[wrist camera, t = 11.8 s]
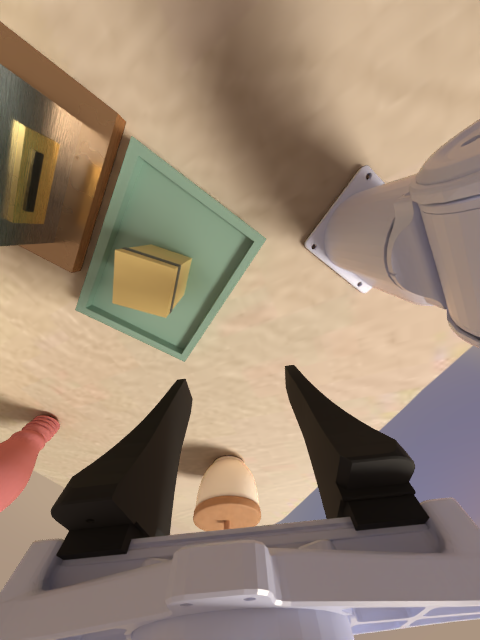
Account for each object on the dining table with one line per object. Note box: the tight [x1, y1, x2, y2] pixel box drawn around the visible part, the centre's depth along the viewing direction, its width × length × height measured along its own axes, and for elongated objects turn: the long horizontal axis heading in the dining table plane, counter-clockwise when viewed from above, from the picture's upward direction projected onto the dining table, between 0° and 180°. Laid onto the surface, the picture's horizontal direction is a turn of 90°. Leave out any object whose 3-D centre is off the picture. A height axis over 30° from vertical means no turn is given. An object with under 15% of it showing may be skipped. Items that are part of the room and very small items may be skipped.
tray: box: [75, 136, 266, 362], centre depth 19 cm, size 13×17×2 cm
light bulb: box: [0, 415, 60, 512], centre depth 24 cm, size 7×7×12 cm
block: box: [112, 244, 192, 318], centre depth 16 cm, size 4×4×6 cm
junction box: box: [0, 22, 126, 273], centre depth 13 cm, size 8×14×7 cm, turn 146°
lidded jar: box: [193, 456, 261, 531], centre depth 32 cm, size 11×11×9 cm
